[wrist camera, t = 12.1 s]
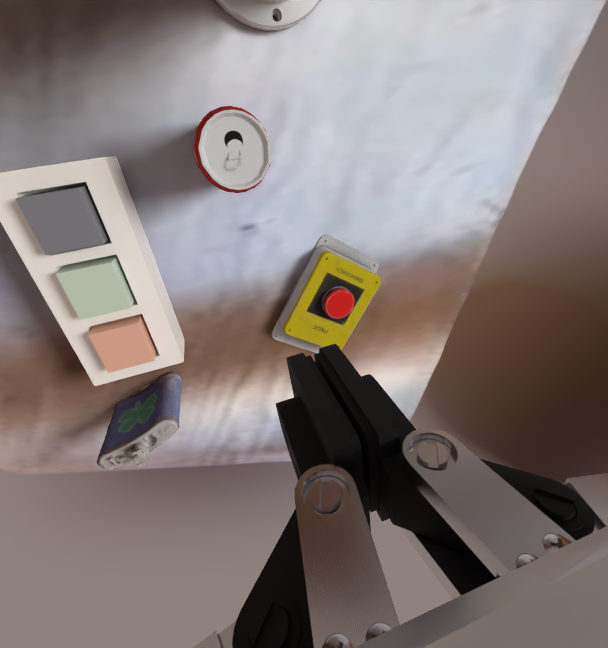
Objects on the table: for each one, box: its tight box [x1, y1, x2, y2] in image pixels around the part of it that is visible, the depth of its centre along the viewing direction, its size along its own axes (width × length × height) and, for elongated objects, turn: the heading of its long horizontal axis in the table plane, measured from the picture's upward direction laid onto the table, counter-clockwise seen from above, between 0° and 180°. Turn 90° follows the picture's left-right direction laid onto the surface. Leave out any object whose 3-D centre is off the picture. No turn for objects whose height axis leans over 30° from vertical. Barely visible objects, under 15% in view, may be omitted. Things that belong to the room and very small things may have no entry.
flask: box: [97, 372, 182, 469], centre depth 38 cm, size 9×3×11 cm, turn 116°
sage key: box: [56, 254, 135, 320], centre depth 31 cm, size 4×4×4 cm
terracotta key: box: [88, 314, 157, 373], centre depth 34 cm, size 4×4×4 cm
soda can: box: [193, 106, 271, 193], centre depth 28 cm, size 6×6×12 cm
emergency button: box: [272, 235, 381, 353], centre depth 42 cm, size 9×4×15 cm
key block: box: [0, 156, 184, 386], centre depth 32 cm, size 20×9×5 cm, turn 8°
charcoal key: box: [15, 185, 110, 255], centre depth 28 cm, size 4×4×4 cm
